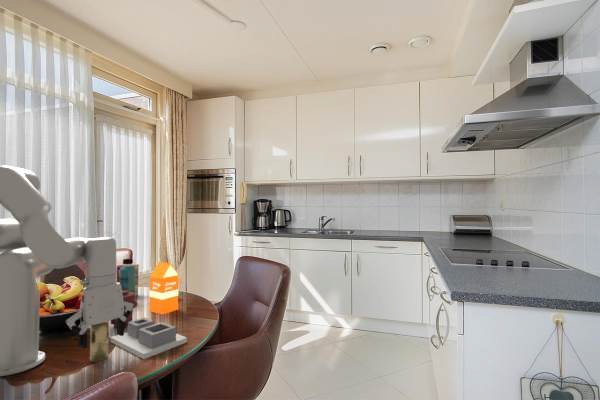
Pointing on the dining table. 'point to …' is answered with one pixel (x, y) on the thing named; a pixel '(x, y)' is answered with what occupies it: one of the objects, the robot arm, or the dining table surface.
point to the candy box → (135, 274)
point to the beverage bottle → (127, 276)
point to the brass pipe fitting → (99, 342)
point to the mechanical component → (127, 298)
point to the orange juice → (163, 289)
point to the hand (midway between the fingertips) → (102, 340)
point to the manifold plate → (148, 338)
